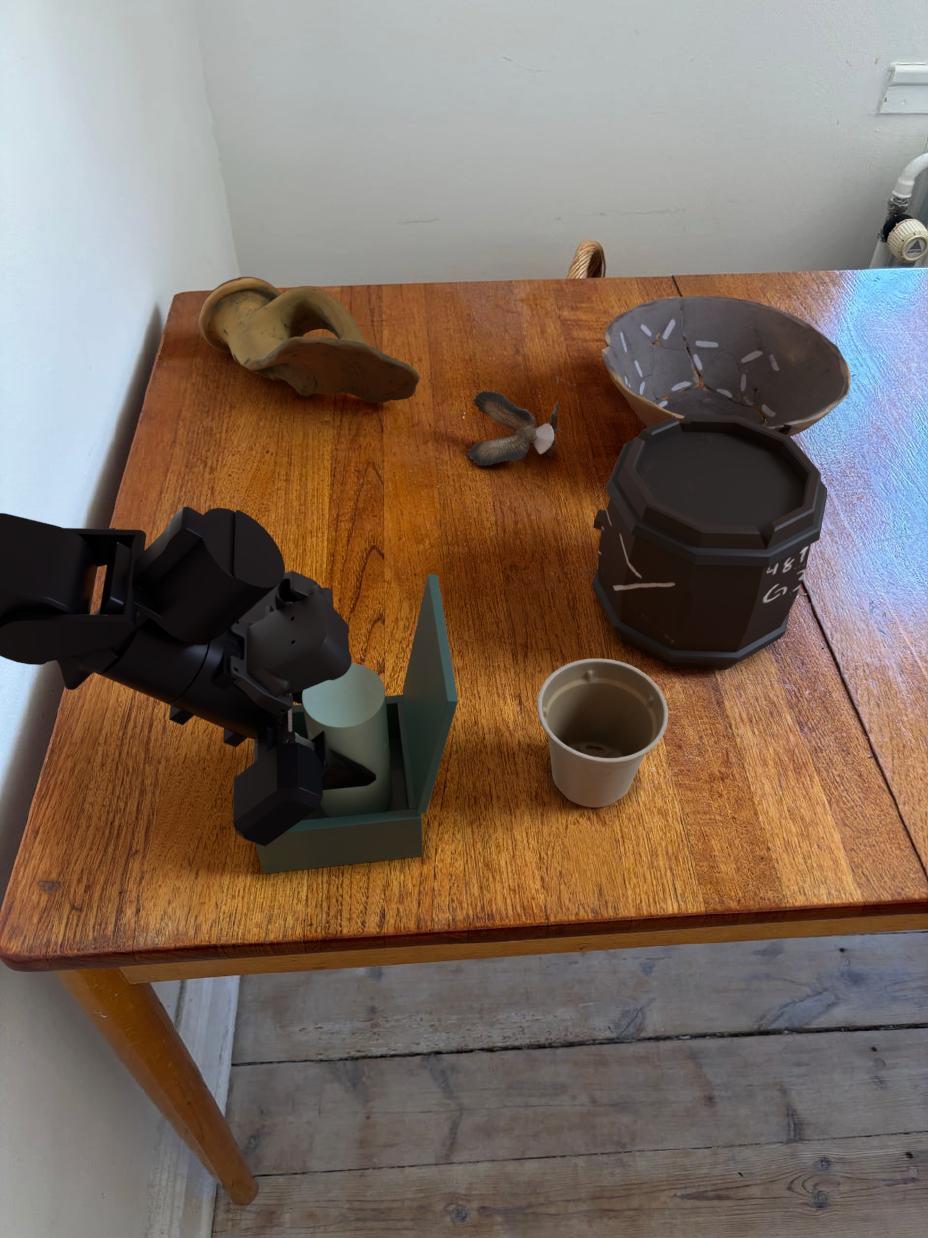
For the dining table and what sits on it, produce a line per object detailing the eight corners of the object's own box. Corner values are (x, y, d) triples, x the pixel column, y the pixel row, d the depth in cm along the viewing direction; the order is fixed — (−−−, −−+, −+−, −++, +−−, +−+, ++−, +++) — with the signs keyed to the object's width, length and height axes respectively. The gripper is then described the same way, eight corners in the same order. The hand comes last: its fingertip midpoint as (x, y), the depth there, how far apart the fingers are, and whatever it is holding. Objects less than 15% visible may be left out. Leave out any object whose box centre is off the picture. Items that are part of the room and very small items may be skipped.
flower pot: (550, 839, 75) (559, 772, 69) (516, 739, 81) (522, 669, 75) (668, 814, 77) (688, 747, 70) (626, 718, 83) (641, 648, 77)
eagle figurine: (550, 415, 110) (469, 402, 108) (568, 390, 103) (482, 376, 101) (544, 482, 108) (462, 470, 107) (563, 461, 101) (475, 448, 100)
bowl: (861, 497, 102) (893, 415, 95) (626, 520, 100) (640, 437, 92) (772, 361, 119) (793, 283, 112) (568, 377, 117) (577, 298, 109)
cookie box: (263, 874, 73) (252, 835, 69) (263, 749, 80) (254, 708, 76) (423, 856, 74) (421, 817, 70) (408, 735, 81) (406, 693, 78)
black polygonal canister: (611, 520, 100) (633, 384, 88) (795, 564, 96) (843, 428, 84) (560, 647, 88) (577, 510, 77) (768, 704, 84) (818, 568, 73)
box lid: (447, 701, 61) (458, 701, 61) (427, 573, 68) (437, 574, 69) (416, 814, 70) (426, 814, 70) (402, 690, 77) (411, 690, 77)
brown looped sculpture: (235, 412, 99) (168, 278, 109) (282, 485, 110) (217, 357, 121) (401, 323, 100) (318, 199, 110) (431, 405, 111) (353, 285, 122)
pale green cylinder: (329, 834, 74) (313, 737, 65) (310, 775, 78) (292, 674, 69) (402, 812, 76) (396, 713, 67) (379, 754, 79) (371, 653, 70)
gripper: (263, 712, 53) (466, 804, 63) (263, 488, 66) (432, 592, 75) (144, 810, 58) (348, 882, 68) (165, 584, 71) (335, 671, 80)
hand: (369, 746), depth 73 cm, fingers closed on pale green cylinder, 5 cm apart
